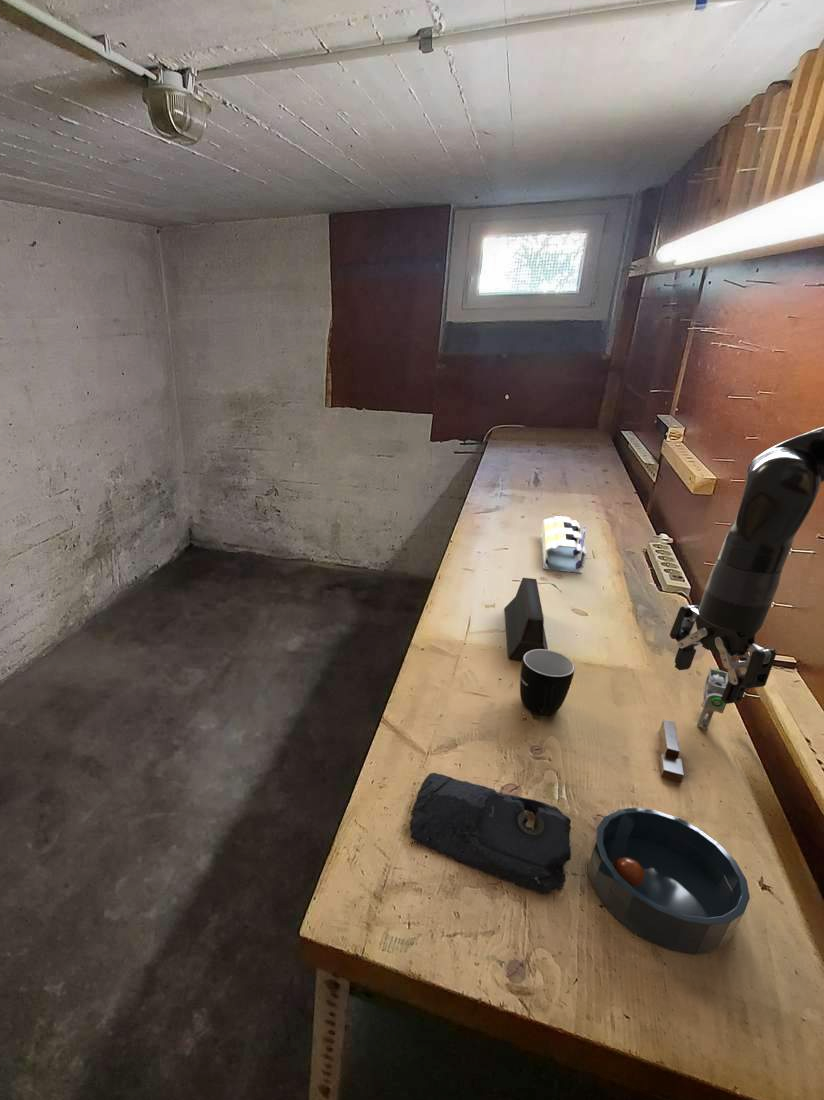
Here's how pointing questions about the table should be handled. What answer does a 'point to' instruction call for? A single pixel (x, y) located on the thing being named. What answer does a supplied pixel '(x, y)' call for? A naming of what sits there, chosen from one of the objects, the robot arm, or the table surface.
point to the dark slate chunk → (493, 832)
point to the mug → (545, 680)
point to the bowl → (668, 881)
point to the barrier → (525, 621)
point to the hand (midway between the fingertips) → (704, 684)
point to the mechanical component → (713, 695)
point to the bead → (630, 871)
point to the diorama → (562, 544)
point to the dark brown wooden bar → (670, 752)
